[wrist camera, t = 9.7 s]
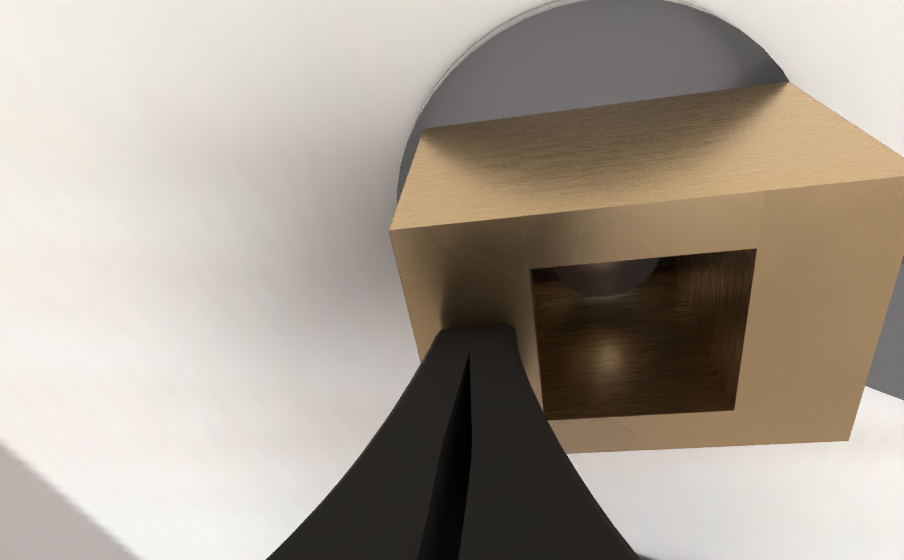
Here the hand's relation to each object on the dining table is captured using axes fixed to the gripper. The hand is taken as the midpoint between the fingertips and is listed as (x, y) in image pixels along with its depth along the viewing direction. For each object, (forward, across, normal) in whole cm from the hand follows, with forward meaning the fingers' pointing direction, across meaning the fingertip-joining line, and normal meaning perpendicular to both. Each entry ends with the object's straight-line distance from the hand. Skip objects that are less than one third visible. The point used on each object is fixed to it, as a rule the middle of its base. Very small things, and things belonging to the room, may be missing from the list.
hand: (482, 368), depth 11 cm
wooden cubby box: (+5, -3, 0) cm, 6 cm away
